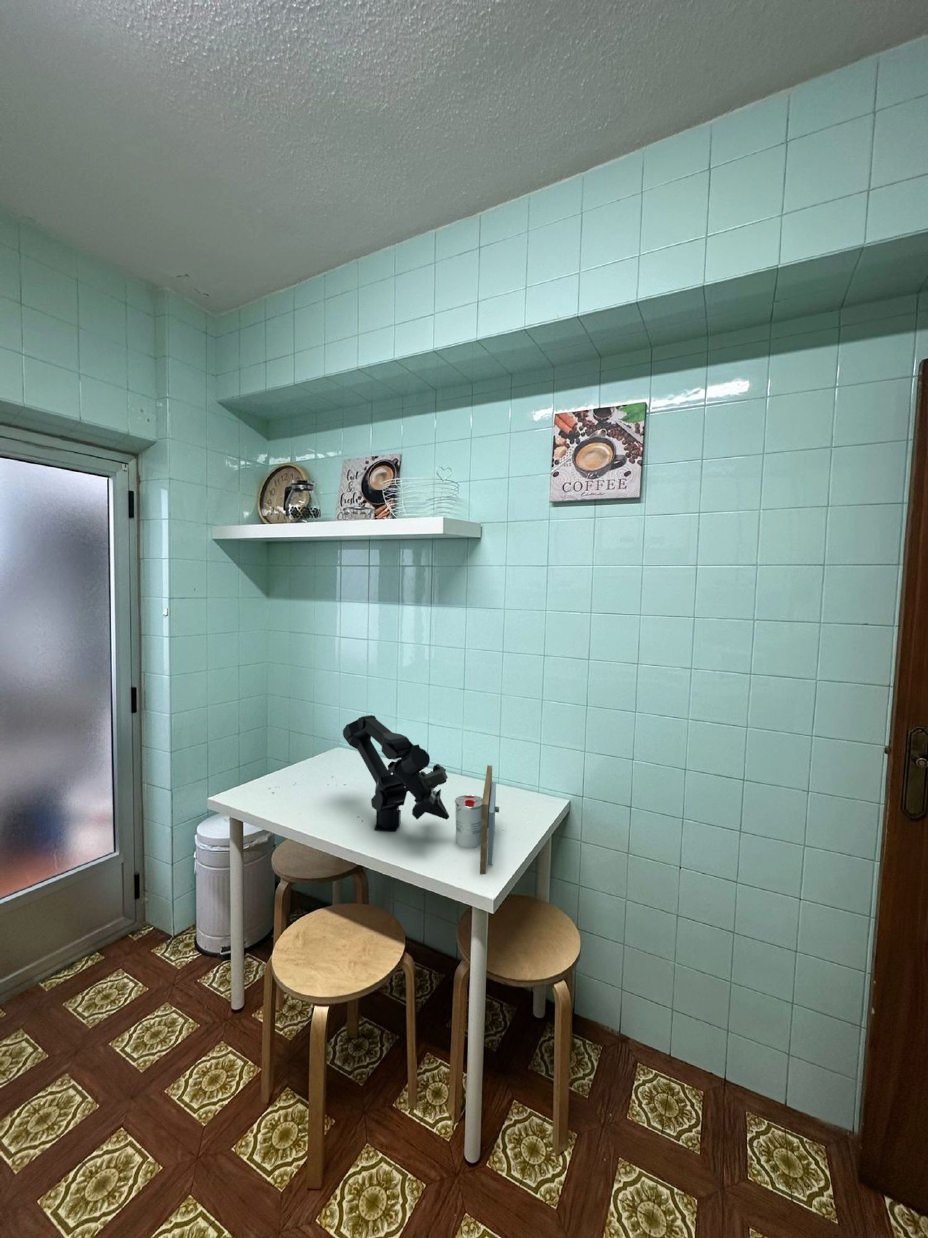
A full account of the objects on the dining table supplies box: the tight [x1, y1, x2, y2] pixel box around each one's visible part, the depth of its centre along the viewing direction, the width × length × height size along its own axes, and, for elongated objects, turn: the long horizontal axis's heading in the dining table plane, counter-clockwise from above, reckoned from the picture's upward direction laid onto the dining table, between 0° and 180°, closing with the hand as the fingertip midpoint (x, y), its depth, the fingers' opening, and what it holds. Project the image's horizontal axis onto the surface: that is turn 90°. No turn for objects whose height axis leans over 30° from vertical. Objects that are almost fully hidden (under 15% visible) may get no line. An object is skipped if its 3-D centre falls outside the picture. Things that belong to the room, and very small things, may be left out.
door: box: [487, 781, 500, 866], centre depth 142 cm, size 2×21×14 cm, turn 175°
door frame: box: [479, 764, 493, 875], centre depth 142 cm, size 2×29×18 cm, turn 175°
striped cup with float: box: [454, 794, 483, 849], centre depth 144 cm, size 10×8×12 cm
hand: (448, 818), depth 145 cm, fingers closed
